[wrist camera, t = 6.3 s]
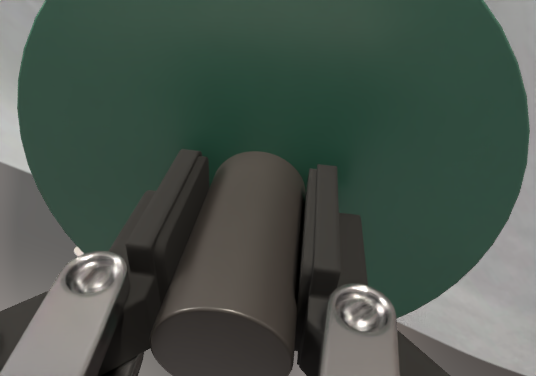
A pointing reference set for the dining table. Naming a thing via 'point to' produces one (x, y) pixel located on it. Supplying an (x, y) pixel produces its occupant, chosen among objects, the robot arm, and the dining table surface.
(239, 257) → the lid
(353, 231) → the robot arm
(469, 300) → the dining table surface
